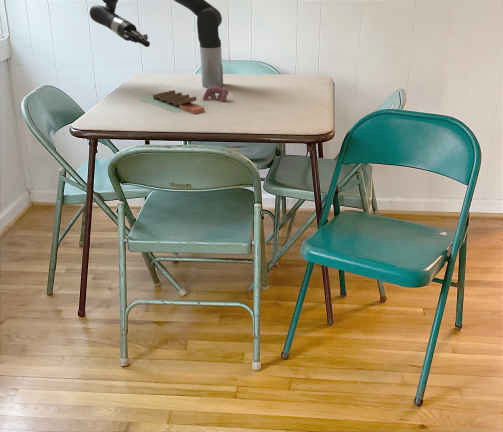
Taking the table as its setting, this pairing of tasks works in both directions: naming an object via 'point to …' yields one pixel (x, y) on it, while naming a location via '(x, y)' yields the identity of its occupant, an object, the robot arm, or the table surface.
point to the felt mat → (163, 104)
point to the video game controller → (216, 89)
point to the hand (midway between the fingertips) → (148, 44)
